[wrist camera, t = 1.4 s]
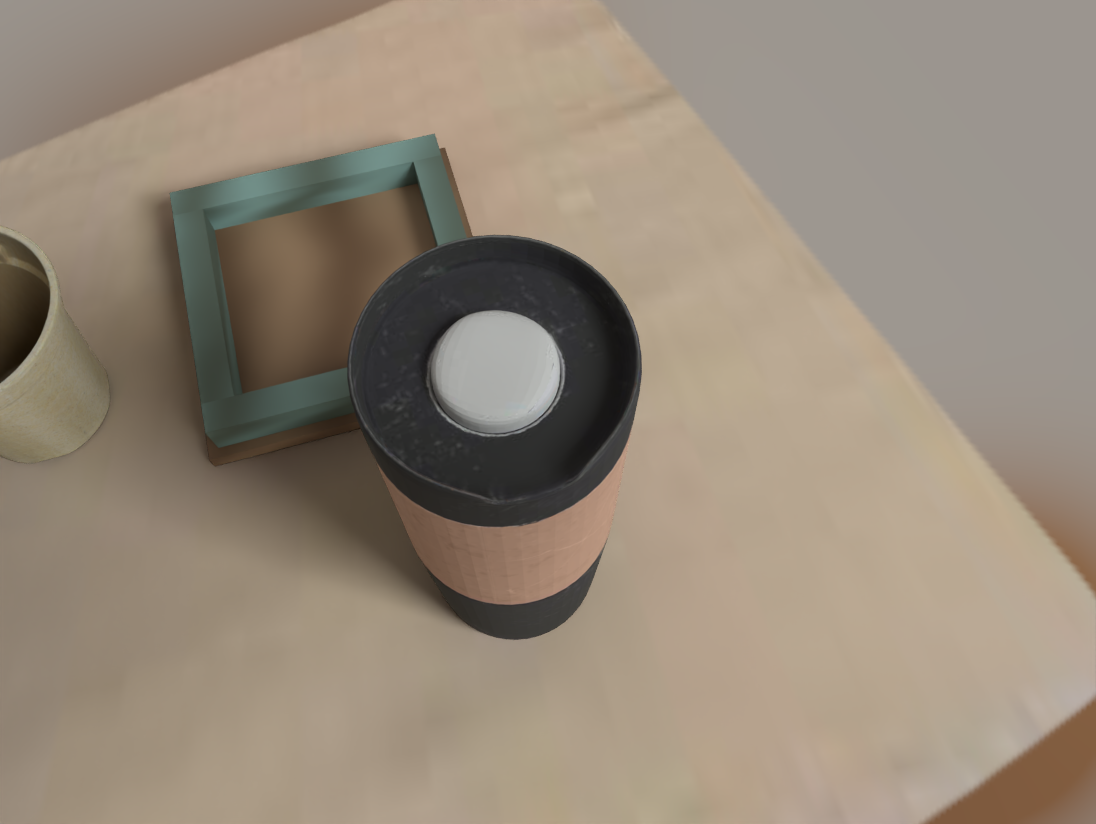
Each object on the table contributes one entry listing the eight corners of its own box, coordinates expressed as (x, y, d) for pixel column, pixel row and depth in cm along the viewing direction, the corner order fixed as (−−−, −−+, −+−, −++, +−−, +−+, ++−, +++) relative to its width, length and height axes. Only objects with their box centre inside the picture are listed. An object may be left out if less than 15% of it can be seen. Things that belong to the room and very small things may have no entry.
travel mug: (484, 455, 42) (441, 187, 24) (627, 528, 41) (697, 301, 23) (399, 596, 40) (278, 412, 21) (550, 679, 38) (559, 558, 20)
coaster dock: (215, 466, 42) (195, 445, 40) (177, 218, 48) (158, 187, 46) (518, 386, 44) (516, 362, 42) (446, 157, 50) (441, 124, 47)
